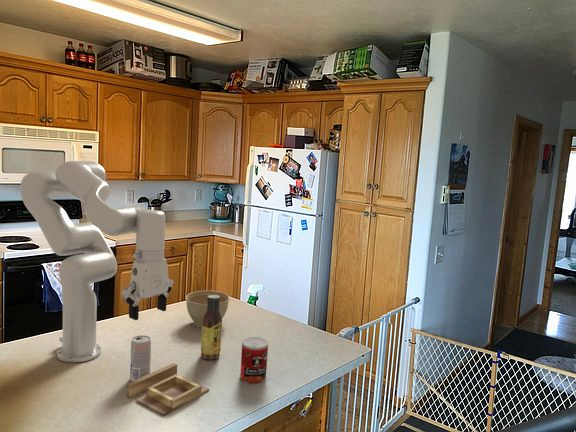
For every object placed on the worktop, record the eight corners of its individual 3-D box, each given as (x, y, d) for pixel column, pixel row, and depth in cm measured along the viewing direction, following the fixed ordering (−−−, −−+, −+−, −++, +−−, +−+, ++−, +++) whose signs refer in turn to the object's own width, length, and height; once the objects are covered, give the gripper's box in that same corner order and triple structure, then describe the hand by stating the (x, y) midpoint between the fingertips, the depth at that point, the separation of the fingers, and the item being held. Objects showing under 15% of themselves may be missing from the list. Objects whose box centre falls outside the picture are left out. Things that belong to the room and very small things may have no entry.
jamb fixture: (126, 396, 119) (127, 383, 118) (173, 374, 132) (173, 362, 132) (163, 416, 111) (164, 402, 110) (208, 390, 124) (209, 378, 124)
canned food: (242, 385, 129) (244, 348, 127) (238, 371, 136) (240, 337, 135) (268, 383, 131) (271, 347, 129) (262, 370, 138) (265, 336, 137)
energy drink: (143, 372, 132) (144, 333, 130) (153, 379, 128) (155, 339, 127) (126, 378, 127) (127, 338, 126) (137, 385, 124) (138, 344, 123)
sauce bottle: (216, 361, 142) (219, 301, 139) (197, 358, 143) (200, 298, 140) (223, 353, 148) (226, 295, 145) (205, 350, 149) (207, 292, 147)
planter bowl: (183, 317, 177) (184, 291, 176) (224, 316, 182) (225, 290, 181) (186, 333, 162) (187, 304, 161) (231, 331, 167) (232, 303, 165)
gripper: (132, 262, 115) (130, 326, 117) (182, 253, 130) (180, 310, 132) (114, 257, 119) (112, 319, 121) (164, 248, 134) (162, 304, 136)
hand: (148, 314), depth 127 cm, fingers open, 9 cm apart
